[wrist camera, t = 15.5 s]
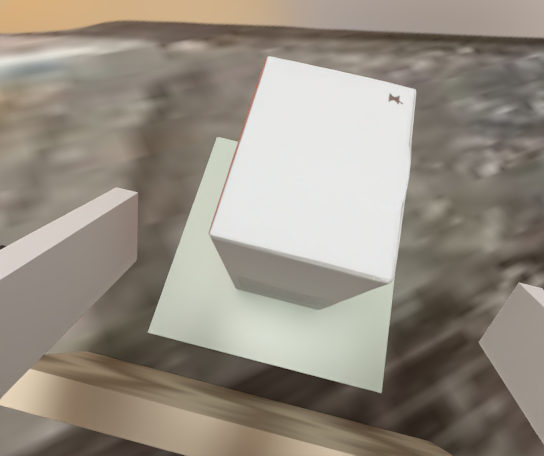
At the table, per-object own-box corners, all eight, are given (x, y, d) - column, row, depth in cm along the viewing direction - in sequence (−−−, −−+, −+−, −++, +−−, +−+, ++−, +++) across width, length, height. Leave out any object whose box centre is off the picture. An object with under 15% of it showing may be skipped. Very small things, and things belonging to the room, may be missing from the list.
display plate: (153, 332, 22) (147, 332, 21) (218, 145, 27) (217, 137, 26) (375, 390, 22) (381, 393, 21) (399, 187, 27) (405, 181, 26)
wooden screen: (76, 375, 21) (-25, 398, 14) (86, 350, 22) (-6, 359, 14) (427, 469, 20) (529, 548, 13) (429, 441, 21) (528, 501, 13)
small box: (261, 190, 25) (266, 49, 13) (339, 209, 25) (422, 84, 12) (232, 291, 22) (203, 235, 10) (320, 313, 22) (400, 285, 10)
